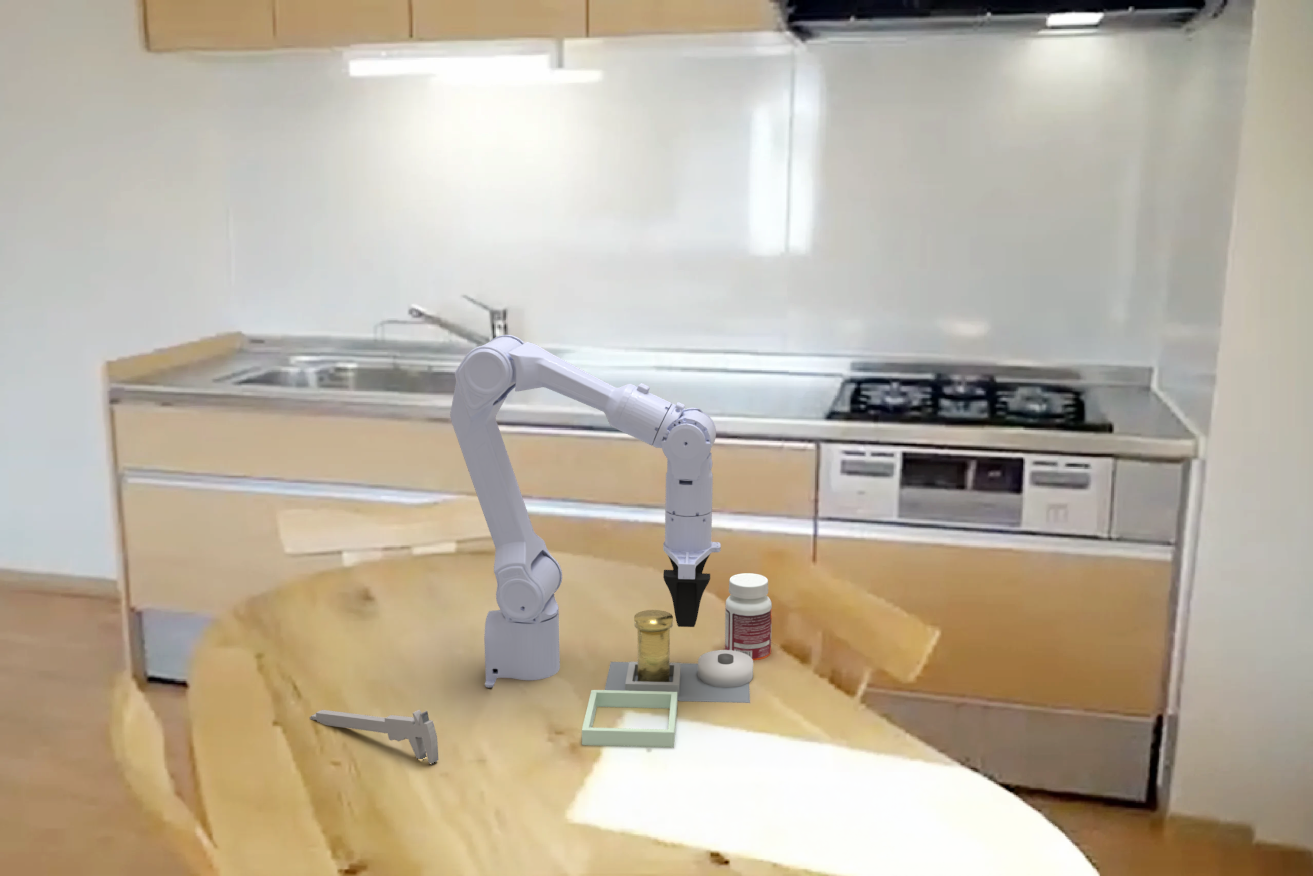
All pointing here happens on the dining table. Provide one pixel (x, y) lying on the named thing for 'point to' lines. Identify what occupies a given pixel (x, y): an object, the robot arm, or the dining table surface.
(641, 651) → the lock pin
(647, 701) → the tray
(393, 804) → the dining table surface
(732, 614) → the pill bottle
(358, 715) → the caliper
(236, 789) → the dining table surface
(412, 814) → the dining table surface
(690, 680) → the board
